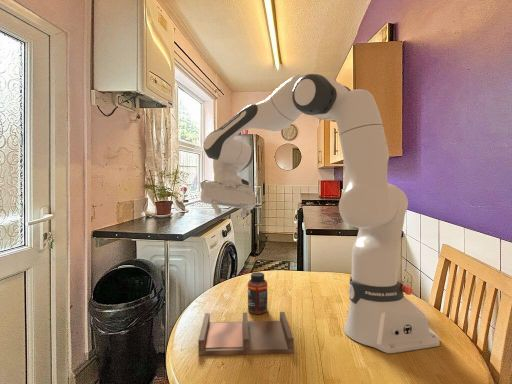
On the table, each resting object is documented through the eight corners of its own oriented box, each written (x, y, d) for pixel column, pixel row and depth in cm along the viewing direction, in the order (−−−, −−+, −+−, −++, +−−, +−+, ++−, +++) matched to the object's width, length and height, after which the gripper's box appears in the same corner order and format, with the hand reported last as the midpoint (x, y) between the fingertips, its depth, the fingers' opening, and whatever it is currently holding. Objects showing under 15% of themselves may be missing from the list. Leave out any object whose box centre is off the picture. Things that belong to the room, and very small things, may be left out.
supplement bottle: (270, 309, 95) (271, 272, 94) (261, 316, 90) (261, 278, 89) (254, 305, 98) (254, 269, 97) (244, 312, 93) (244, 274, 92)
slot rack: (284, 324, 85) (284, 311, 85) (293, 353, 71) (293, 338, 71) (205, 325, 84) (205, 313, 84) (198, 355, 70) (198, 340, 70)
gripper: (202, 173, 108) (205, 205, 99) (254, 183, 117) (261, 213, 108) (197, 184, 112) (199, 216, 104) (247, 193, 121) (253, 223, 113)
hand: (231, 215), depth 106 cm, fingers open, 8 cm apart
